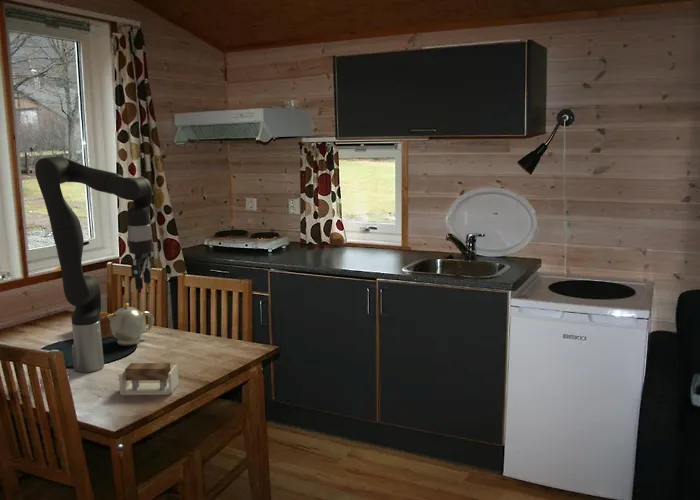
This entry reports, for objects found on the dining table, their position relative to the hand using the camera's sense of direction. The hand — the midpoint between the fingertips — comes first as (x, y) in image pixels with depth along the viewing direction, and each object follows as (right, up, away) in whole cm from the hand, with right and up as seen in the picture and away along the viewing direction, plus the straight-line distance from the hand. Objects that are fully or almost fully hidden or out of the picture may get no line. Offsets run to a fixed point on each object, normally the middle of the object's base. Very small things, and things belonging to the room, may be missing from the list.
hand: (143, 285), depth 214 cm
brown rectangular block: (+4, -30, -6) cm, 30 cm away
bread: (-37, -23, +52) cm, 68 cm away
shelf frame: (+4, -34, -6) cm, 34 cm away
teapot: (-18, -25, +42) cm, 52 cm away
